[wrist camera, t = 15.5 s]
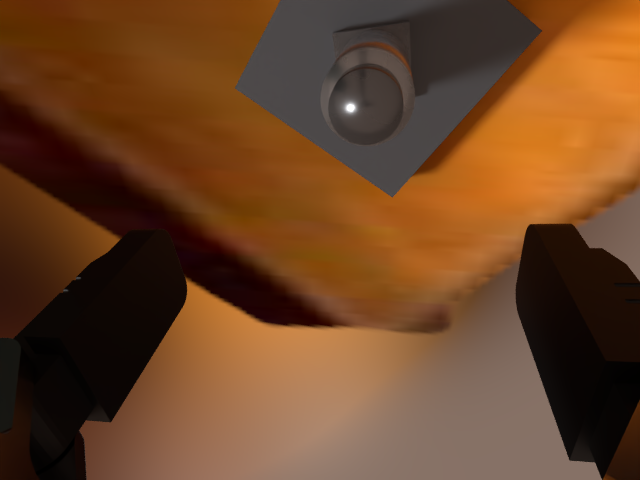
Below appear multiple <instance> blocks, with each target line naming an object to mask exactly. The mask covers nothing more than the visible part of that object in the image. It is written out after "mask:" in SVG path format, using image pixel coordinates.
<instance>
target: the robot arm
mask: <svg viewBox="0 0 640 480" xmlns="http://www.w3.org/2000/svg"><path fill="white" fill-rule="evenodd" d="M186 295H187V284H186V279H185V276H184V274H183V271H182V268H181V265H180V262H179V259H178V256H177V254H176V251H175V248H174V245H173V242H172V239H171V237H170V235H169V233H168V232H167V231H166V230H164V229H134V230H130V231H129V232H128V233H127V234H126V235H125V236H124V237H123V238H122V239H121V240H120V241H119V242H118V243H117V244H116V245H115V246H114V247H113V248H112V249H111V250H110V251H109V252H108V253H106V254H105V255H103V256H101V257H100V258H98V259H96V260H95V261H93V262H91V263H90V264H89V265H88V266H87V267H86V268H85V269H84V270H83V271H82V272H81V273H80V274H79V275H78V276H77V277H76V280H73V281H72V282H71V283H70V284H69V285H68V286H67V287H66V288H65V289H64V292H63V293H59V294H58V295H57V297H55V298H54V299H53V300H52V301H51V302H50V303H49V304H48V305H47V306H46V307H45V308H44V309H43V310H42V311H41V312H40V313H39V314H38V315H37V316H36V317H35V318H34V319H33V320H32V321H31V322H30V323H29V324H28V325H27V326H26V327H25V328H24V329H23V330H22V331H21V332H20V333H19V334H18V335H17V336H15V338H14V339H11V338H0V480H86V461H85V444H84V438H83V436H82V434H81V433H80V431H79V430H80V428H81V427H82V425H83V424H84V422H85V421H86V420H89V421H102V422H111V421H112V420H113V418H114V416H115V415H116V413H117V412H118V410H119V409H120V407H121V405H122V404H123V402H124V400H125V399H126V397H127V396H128V394H129V392H130V391H131V389H132V388H133V386H134V384H135V383H136V381H137V379H138V378H139V376H140V375H141V373H142V372H143V370H144V368H145V367H146V365H147V363H148V362H149V360H150V359H151V357H152V356H153V354H154V352H155V351H156V349H157V347H158V346H159V344H160V343H161V341H162V339H163V338H164V336H165V335H166V333H167V331H168V330H169V328H170V327H171V325H172V323H173V322H174V320H175V318H176V317H177V315H178V314H179V312H180V310H181V309H182V307H183V305H184V303H185V300H186ZM516 305H517V311H518V314H519V318H520V320H521V323H522V326H523V329H524V332H525V335H526V337H527V340H528V343H529V346H530V349H531V352H532V354H533V358H534V360H535V363H536V366H537V369H538V372H539V375H540V378H541V380H542V383H543V386H544V389H545V392H546V395H547V397H548V400H549V403H550V406H551V409H552V412H553V415H554V417H555V420H556V423H557V426H558V429H559V432H560V434H561V437H562V440H563V443H564V446H565V449H566V451H567V455H568V457H569V460H571V461H584V462H595V463H596V466H597V468H598V471H599V473H600V476H601V478H602V480H640V281H639V280H638V279H637V277H636V276H635V275H634V274H633V272H632V271H631V270H630V268H629V267H628V266H627V265H626V264H625V263H624V262H622V261H621V260H619V259H618V258H616V257H615V256H613V255H611V254H610V253H609V252H607V251H605V250H604V249H602V248H589V247H588V245H587V244H586V242H585V241H584V240H583V238H582V237H581V235H580V234H579V232H578V231H577V229H576V228H575V226H574V225H572V224H530V225H529V226H528V228H527V230H526V233H525V238H524V244H523V249H522V255H521V261H520V266H519V272H518V277H517V283H516Z"/></svg>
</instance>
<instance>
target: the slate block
mask: <svg viewBox="0 0 640 480" xmlns="http://www.w3.org/2000/svg"><path fill="white" fill-rule="evenodd" d="M402 21H409V22H410V50H411V73H412V78H413V83H414V89H415V104H414V109H413V113H412V115H411V118H410V120H409V122H408V123H407V125H406V126H405V127H404V129H403V130H402V131H401V132H400V133H399V134H398V135H397V136H395V137H394V138H393V139H391V140H389V141H387V142H385V143H383V144H379V145H375V146H358V145H354V144H351V143H348V142H346V141H344V140H343V139H341V138H340V137H338V136H337V135H336V134H335V133H334V132H333V131H332V130H331V129H330V127H329V126H328V124H327V123H326V121H325V119H324V116H323V113H322V109H321V101H320V98H321V89H322V85H323V82H324V80H325V78H326V75H327V74H328V72H329V71H330V69H331V67H332V66H333V64H334V63H335V53H334V45H333V37H332V33H333V32H336V31H343V30H350V29H356V28H363V27H369V26H376V25H383V24H389V23H396V22H402ZM541 31H542V30H541V29H539V28H538V27H537V26H536V25H535V24H534V23H532V22H531V21H530V20H529V19H528V18H527V17H526V16H524V15H523V14H522V13H521V12H520V11H519V10H518V9H516V8H515V7H514V6H513V5H512V4H511V3H509V2H508V1H507V0H281V1H280V2H279V4H278V6H277V8H276V10H275V12H274V14H273V16H272V18H271V20H270V22H269V24H268V26H267V27H266V29H265V31H264V33H263V35H262V37H261V39H260V41H259V43H258V45H257V47H256V49H255V50H254V52H253V54H252V56H251V58H250V60H249V62H248V64H247V66H246V68H245V70H244V72H243V74H242V75H241V77H240V79H239V81H238V83H237V85H236V87H235V88H236V89H237V90H238V91H240V92H241V93H243V94H244V95H246V96H247V97H248V98H250V99H251V100H253V101H254V102H256V103H257V104H259V105H260V106H261V107H263V108H264V109H266V110H267V111H269V112H270V113H272V114H273V115H274V116H276V117H277V118H279V119H280V120H282V121H283V122H285V123H286V124H287V125H289V126H290V127H292V128H293V129H295V130H296V131H297V132H299V133H300V134H302V135H303V136H305V137H306V138H308V139H309V140H310V141H312V142H313V143H315V144H316V145H318V146H319V147H321V148H322V149H323V150H325V151H326V152H328V153H329V154H331V155H332V156H334V157H335V158H336V159H338V160H339V161H341V162H342V163H344V164H345V165H346V166H348V167H349V168H351V169H352V170H354V171H355V172H357V173H358V174H359V175H361V176H362V177H364V178H365V179H367V180H368V181H370V182H371V183H372V184H374V185H375V186H377V187H378V188H380V189H381V190H383V191H384V192H385V193H387V194H388V195H390V196H391V197H393V196H394V195H395V194H396V193H397V192H398V191H399V190H400V188H401V187H402V186H403V185H404V184H405V183H406V182H407V181H408V180H409V178H410V177H411V176H412V175H413V174H414V173H415V172H416V171H417V170H418V168H419V167H420V166H421V165H422V164H423V163H424V162H425V161H426V160H427V158H428V157H429V156H430V155H431V154H432V153H433V152H434V151H435V150H436V148H437V147H438V146H439V145H440V144H441V143H442V142H443V141H444V139H445V138H446V137H447V136H448V135H449V134H450V133H451V132H452V131H453V129H454V128H455V127H456V126H457V125H458V124H459V123H460V122H461V121H462V119H463V118H464V117H465V116H466V115H467V114H468V113H469V112H470V111H471V109H472V108H473V107H474V106H475V105H476V104H477V103H478V102H479V101H480V99H481V98H482V97H483V96H484V95H485V94H486V93H487V92H488V90H489V89H490V88H491V87H492V86H493V85H494V84H495V83H496V82H497V80H498V79H499V78H500V77H501V76H502V75H503V74H504V73H505V72H506V70H507V69H508V68H509V67H510V66H511V65H512V64H513V63H514V62H515V60H516V59H517V58H518V57H519V56H520V55H521V54H522V53H523V52H524V50H525V49H526V48H527V47H528V46H529V45H530V44H531V43H532V42H533V40H534V39H535V38H536V37H537V36H538V35H539V34H540V33H541Z"/></svg>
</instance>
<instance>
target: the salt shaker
mask: <svg viewBox="0 0 640 480" xmlns="http://www.w3.org/2000/svg"><path fill="white" fill-rule="evenodd" d="M332 37H333V45H334V53H335V63H334V64H333V66H332V67H331V69H330V71H329V72H328V74H327V75H326V78H325V80H324V82H323V85H322V89H321V98H320V101H321V109H322V113H323V116H324V119H325V121H326V123H327V124H328V126H329V127H330V129H331V130H332V131H333V132H334V133H335V134H336V135H337V136H338V137H340V138H341V139H343V140H344V141H346V142H348V143H351V144H354V145H358V146H375V145H379V144H383V143H385V142H387V141H389V140H391V139H393V138H394V137H395V136H397V135H398V134H399V133H400V132H401V131H402V130H403V129H404V127H405V126H406V125H407V123H408V122H409V120H410V118H411V115H412V113H413V109H414V104H415V89H414V83H413V78H412V73H411V50H410V22H409V21H402V22H396V23H389V24H383V25H376V26H369V27H363V28H356V29H350V30H343V31H336V32H333V33H332Z"/></svg>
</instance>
